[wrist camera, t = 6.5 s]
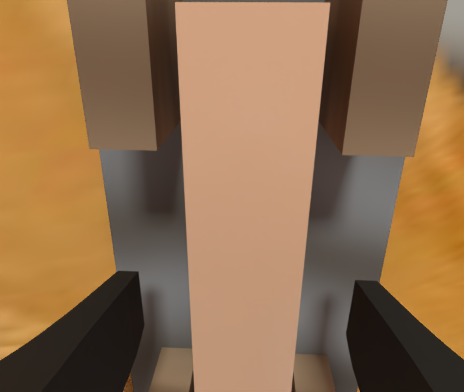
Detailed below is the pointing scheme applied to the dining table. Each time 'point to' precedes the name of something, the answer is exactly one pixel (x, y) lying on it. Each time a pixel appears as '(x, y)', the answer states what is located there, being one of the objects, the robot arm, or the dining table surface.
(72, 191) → the dining table surface
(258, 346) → the clay strip
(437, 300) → the dining table surface
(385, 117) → the grey panel
